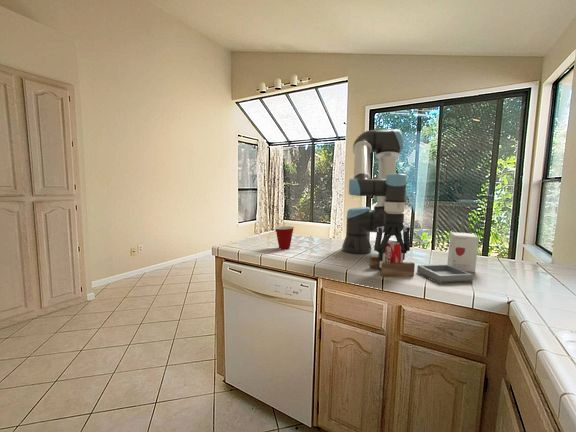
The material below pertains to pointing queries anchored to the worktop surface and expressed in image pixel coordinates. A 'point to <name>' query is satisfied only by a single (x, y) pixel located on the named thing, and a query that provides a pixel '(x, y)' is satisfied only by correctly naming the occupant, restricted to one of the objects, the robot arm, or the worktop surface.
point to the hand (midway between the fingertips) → (390, 267)
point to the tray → (445, 274)
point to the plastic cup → (284, 236)
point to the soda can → (393, 252)
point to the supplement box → (463, 251)
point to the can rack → (392, 267)
